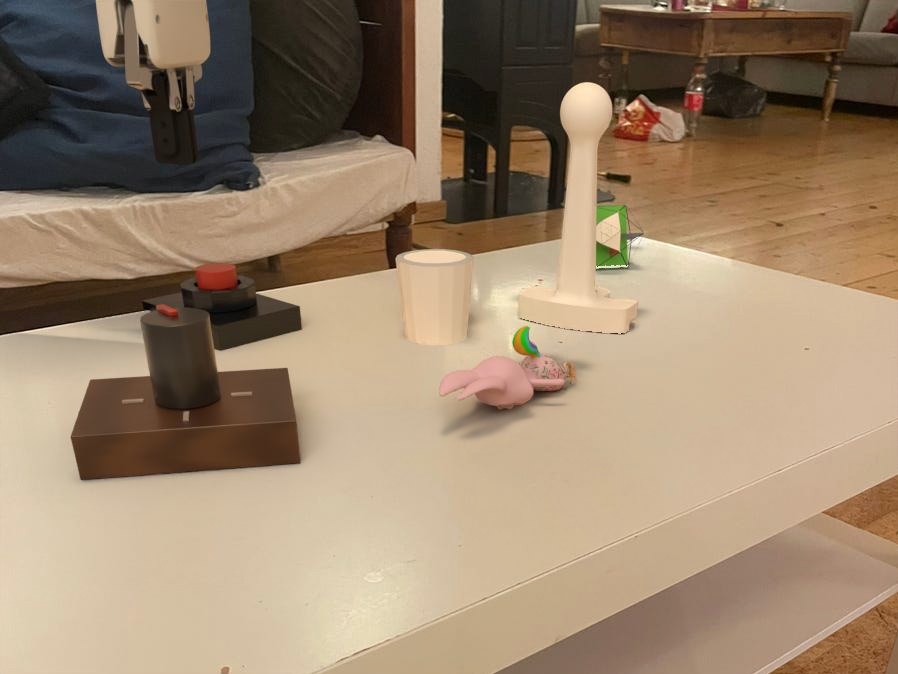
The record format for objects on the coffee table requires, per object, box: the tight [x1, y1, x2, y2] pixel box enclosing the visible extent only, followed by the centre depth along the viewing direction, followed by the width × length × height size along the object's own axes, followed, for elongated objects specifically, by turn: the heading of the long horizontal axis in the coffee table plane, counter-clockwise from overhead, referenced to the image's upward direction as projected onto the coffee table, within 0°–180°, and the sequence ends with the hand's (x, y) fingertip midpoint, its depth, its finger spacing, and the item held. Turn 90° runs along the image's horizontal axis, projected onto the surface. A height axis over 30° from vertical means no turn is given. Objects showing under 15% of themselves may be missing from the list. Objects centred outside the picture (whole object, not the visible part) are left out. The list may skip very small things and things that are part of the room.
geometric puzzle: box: [596, 204, 646, 267], centre depth 111 cm, size 7×7×8 cm
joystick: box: [517, 81, 639, 335], centre depth 90 cm, size 11×8×20 cm
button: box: [194, 262, 238, 289], centre depth 90 cm, size 4×4×2 cm
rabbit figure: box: [438, 325, 578, 411], centre depth 74 cm, size 6×6×15 cm
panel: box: [70, 367, 301, 481], centre depth 68 cm, size 14×11×3 cm
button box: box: [141, 274, 303, 352], centre depth 91 cm, size 12×9×4 cm
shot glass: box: [395, 248, 475, 346], centre depth 88 cm, size 7×7×7 cm
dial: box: [139, 304, 221, 409], centre depth 66 cm, size 4×4×6 cm
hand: (177, 162), depth 84 cm, fingers closed
